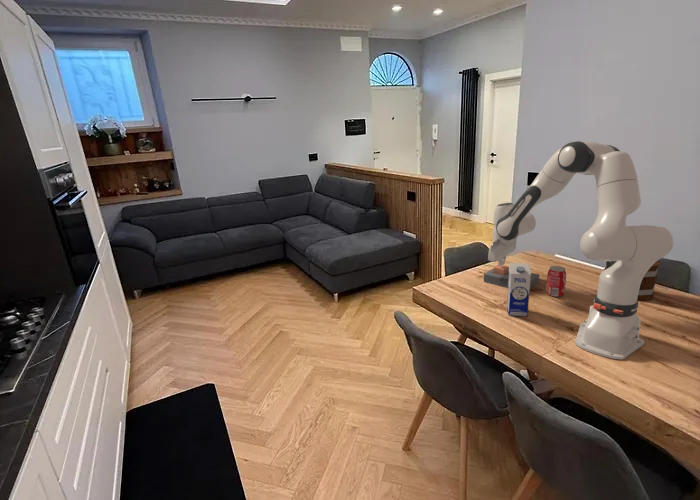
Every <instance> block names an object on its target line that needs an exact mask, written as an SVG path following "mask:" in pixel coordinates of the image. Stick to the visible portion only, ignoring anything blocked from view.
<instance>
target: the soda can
mask: <svg viewBox="0 0 700 500" xmlns="http://www.w3.org/2000/svg"><path fill="white" fill-rule="evenodd" d="M566 285H567V271H566V268H565V267H563V266H561V265H559V266H558V265H551V266H550V267H549V269H548V270H547V276H546V287H545V288H546V289H545V290H546V293H547V294H548V295H549V296H550V297H556V298H559V297H561V296H564V295H565V291H566Z"/></svg>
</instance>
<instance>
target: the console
mask: <svg viewBox="0 0 700 500" xmlns="http://www.w3.org/2000/svg"><path fill="white" fill-rule="evenodd" d="M540 276H541V275H540V273H539V274H537V273H534V272H531V277H530V290H531V289H533V288H534V287H535V286H537V285H538V284H539V283H540ZM508 281H509V272H508V273H507V274H505V275H501V274H497V273H494V267H492V268H491V269H489V270H488V271H487V272H484V273H483V283H487V284H491V285H495V286H498V287H499V286H500V287H502V288H506V289H508Z"/></svg>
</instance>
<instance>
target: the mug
mask: <svg viewBox="0 0 700 500" xmlns="http://www.w3.org/2000/svg"><path fill="white" fill-rule="evenodd" d="M616 262H617V261H615V263H616ZM660 264H661V261H659V260H658V261H656V262H655V263H654V264H653V265H652V266H651V267H650V269H649V270H648V271H647V272H646V274H645V275H644V277H643V279H642V281H641V285H640V289H639V293H638V298H637V300H638V302H647V301H648V302H649V301H652V299H653V298H654V296H655V295H654V293H655V285H656V282H657V278H658V270H659V266H660ZM609 267H611V261H605V270H606V269H607V268H609Z"/></svg>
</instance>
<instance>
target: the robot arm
mask: <svg viewBox="0 0 700 500" xmlns="http://www.w3.org/2000/svg"><path fill="white" fill-rule="evenodd" d="M576 174H579V175H580V174H581V175H584V176H594V178H595V185H596V192H597V193H596V194H597V202H598V209H597V210H598V212H597V216H596V219H595V220H594V223H593V225H592V226H591V227H590V228H589V229H588V230H586V231H585V232H584V234H583V235H582V236H581V238H580V243H579V247H580V250H581V252H582V255H584V256H585V257H586V258H587V259H588V260H592V261H599V262H600V261H601V262H606V261H610V262H614V263H613V264H612V265H610V267H609V268H607V269H606V268H605V269H604V270H603V271H602V272H601V273H600V275H599V278H598V285H597V292H596V293H595V296H594V298H593V303H592V305H590V306H589V313H588V316H587V319H586V318H585V319H584V322H580V325H579V328H578V332H577V334H576V337H575V341H574V344H575V345H576V346H577V347H579V348H580V349H583V350H585V351H587V352H590V353H592V354H594V355H598V356H601V357H605V358H608V359H615V360H621V361H622V360H625V359H626V358H627V357H629V356H631V355H632V354H634V353H635V352H636V351H637V350H638V349H640V348H642V346H644V345H645V340H644V339H642V338H641V337H640V329H641V323H642V320H641V319H642V318H640V317H639V316H638V314H637V311H638V309H639V301H638V300H637V298H638V293H639V289H640V285H641V281H642V279H643V277H644V275H645V274H646V272H647V271H648V270H649V269H650V267H651V266H652V265H653V264H654V263H655V262H656V261H659V260H661V259H662V258H664V257H666V256H668V255H669V253H670V252H671V251H672V249H673V247H674V237H673V234H672V233H671V232H670V231H669V230H668V229H667V228H666V227H663V226H656V225H648V224H645V225H644V224H642V225H641V224H640V225H626V221H627V217H628V216H630V214H632V213H634V212H636V211H637V210H638V209H639V208H640V205H641V204H642V203H641V202H642V199H641V192H640V186H639V181H638V180H639V179H638V176H637V175H638V174H637V172H636V167H635V165H634V162H633V159H632V157H631V156H630V154H629V153H627V152H625V151H621V150H620V149H619V148H618V147H616V146H614V145H610V144H604V143H603V144H602V143H597V142H594V141H579V140H578V141H572V142H571V141H570V142H568V143H566V144H564V145H563V146H562V147H559V148H558V150H556V151H555V152H554V153H553V154H552V155H551V156H550V158H549V159H548V160H547V161H546V162H545V164H544V166H543V167H542V168H541V170H540V171H539V173H538V174H537V175H536V177H535V178H534V180H533V181H532V183H531V184H530V185H529V186H528V188H527V189H526V190H525V191H524V192H523V194H522V195H521V196H520V197H519V198H518V200H517V201H516V202H515V204H514V203H513V202H504V203H503V202H502V203H499V204H497V205H496V206H495V209H494V212H493V225H494V226H493V229H492V244H490V245H489V247H488V253H487V254H488V255H487V256H488V257H487V260H488V262H492V263H496V262H498V263H497V265H499V266H502V265H504V266H505V264H506V259H507V256H509V255H510V254H512V253H513V252H515V250H516V248H517V239H518V237H521V236H523V235H527V234H529V233H530V232H532V231H534V230H535V227H536V219H535V217H534V215H532V214H531V211H532V209H534V208H535V207H536V206H538V205H539V204H541V203H542V202H545V201H546V200H549V199H551V198H553V197H555V196H557V195H559V193H561V192H562V191H563V190H564V189H565V188H566V187H567V185H568V184H569V183H570V181H571V180H572V178H573V177H574V176H575V175H576ZM616 261H617V262H616Z"/></svg>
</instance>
